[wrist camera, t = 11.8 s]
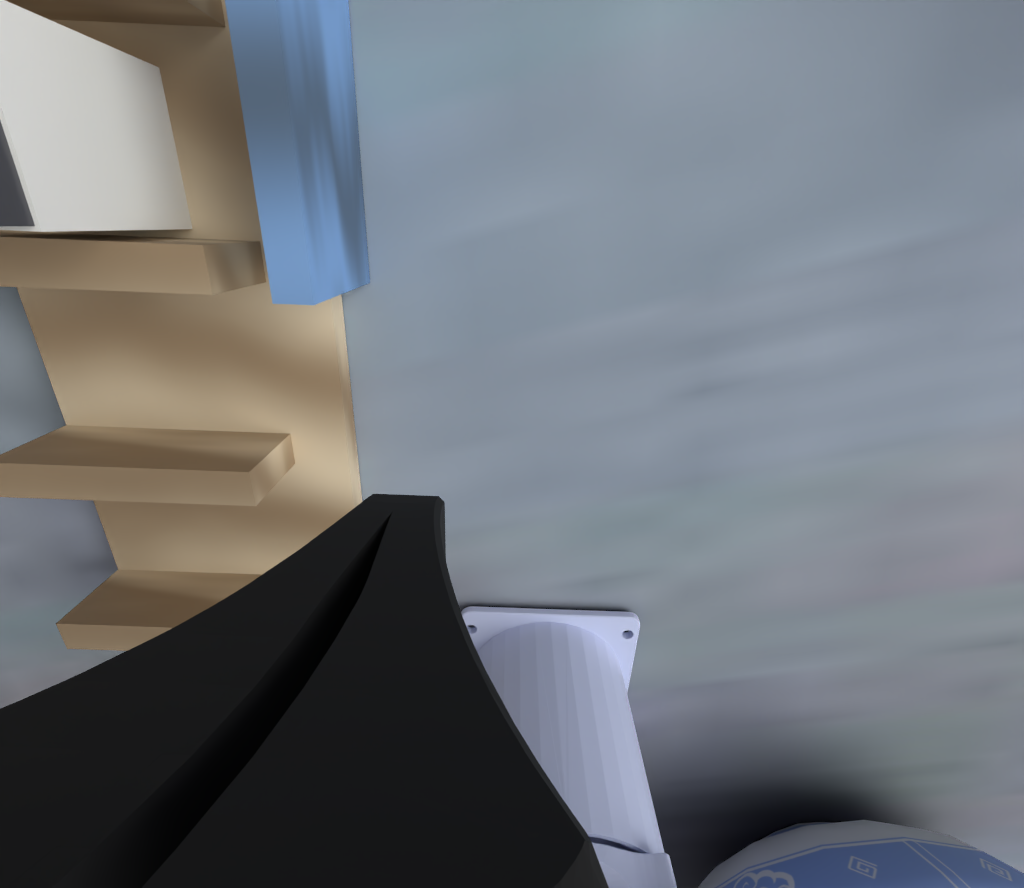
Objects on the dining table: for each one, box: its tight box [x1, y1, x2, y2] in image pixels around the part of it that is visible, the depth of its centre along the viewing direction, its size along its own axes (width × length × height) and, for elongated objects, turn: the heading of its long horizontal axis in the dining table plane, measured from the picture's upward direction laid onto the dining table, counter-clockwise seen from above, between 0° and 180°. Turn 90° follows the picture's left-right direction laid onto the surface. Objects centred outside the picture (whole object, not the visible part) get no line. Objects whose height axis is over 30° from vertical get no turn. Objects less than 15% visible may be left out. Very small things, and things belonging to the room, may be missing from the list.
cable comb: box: [0, 0, 370, 651], centre depth 15 cm, size 20×11×5 cm, turn 178°
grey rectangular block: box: [0, 0, 193, 232], centre depth 11 cm, size 4×4×6 cm
